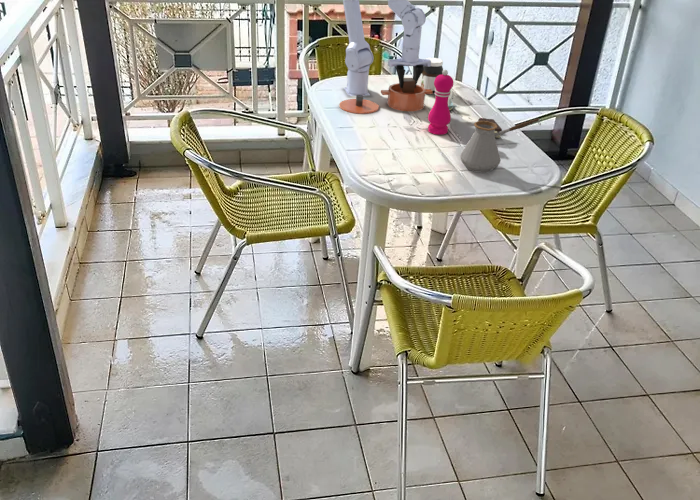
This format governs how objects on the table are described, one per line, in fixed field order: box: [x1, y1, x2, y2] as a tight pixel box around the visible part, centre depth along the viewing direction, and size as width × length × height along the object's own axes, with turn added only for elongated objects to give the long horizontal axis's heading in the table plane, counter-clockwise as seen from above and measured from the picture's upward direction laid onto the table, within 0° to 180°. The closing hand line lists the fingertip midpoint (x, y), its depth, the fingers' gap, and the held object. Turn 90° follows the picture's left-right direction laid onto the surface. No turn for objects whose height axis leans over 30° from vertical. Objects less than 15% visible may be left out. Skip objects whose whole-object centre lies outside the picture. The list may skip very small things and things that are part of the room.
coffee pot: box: [459, 118, 542, 174], centre depth 191 cm, size 21×12×15 cm, turn 95°
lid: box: [338, 95, 380, 115], centre depth 232 cm, size 14×14×5 cm
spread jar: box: [419, 57, 452, 95], centre depth 250 cm, size 12×11×12 cm
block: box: [400, 77, 415, 93], centre depth 233 cm, size 4×4×4 cm
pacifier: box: [448, 90, 458, 111], centre depth 236 cm, size 7×6×6 cm
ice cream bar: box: [477, 117, 503, 139], centre depth 220 cm, size 5×2×15 cm
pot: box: [380, 82, 433, 112], centre depth 235 cm, size 13×18×6 cm
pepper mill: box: [427, 69, 454, 136], centre depth 213 cm, size 7×7×20 cm
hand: (407, 86), depth 233 cm, fingers closed on block, 4 cm apart
